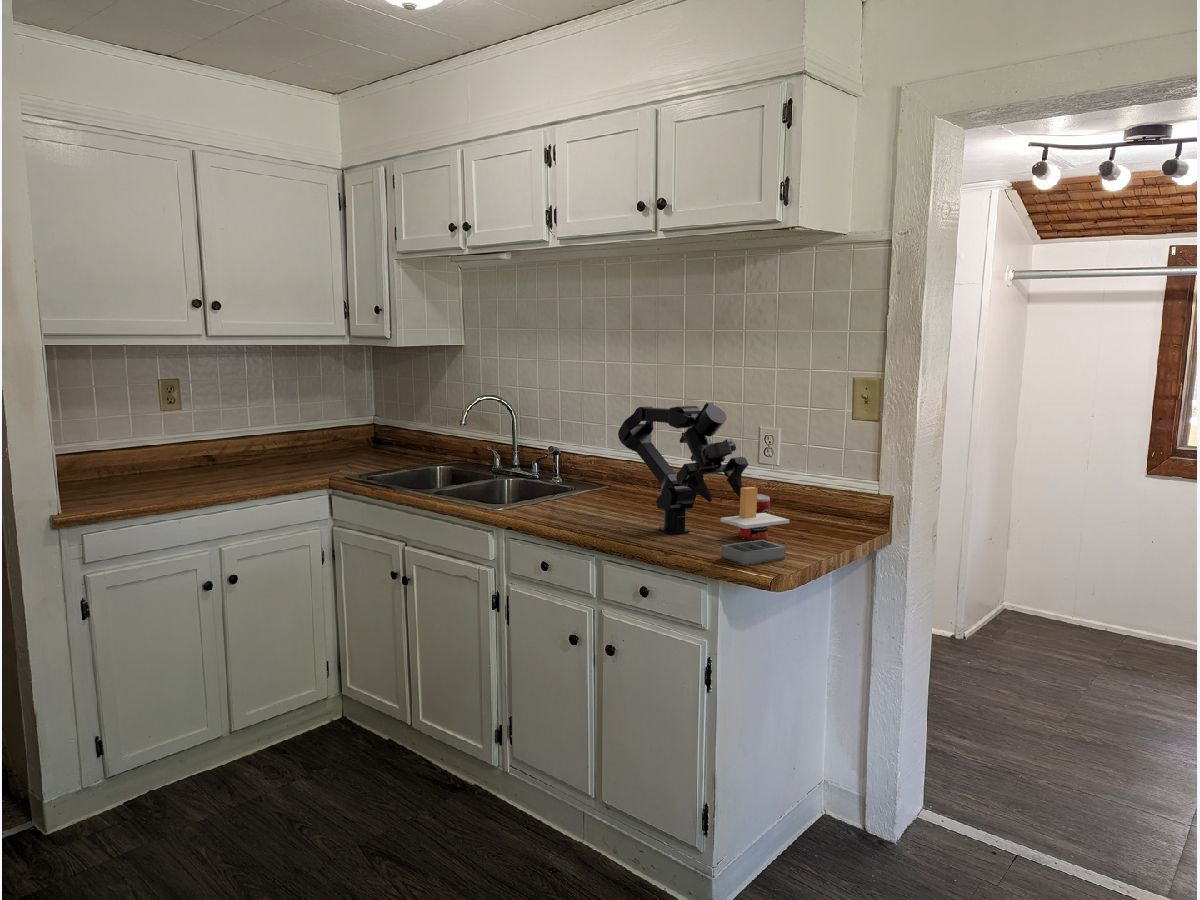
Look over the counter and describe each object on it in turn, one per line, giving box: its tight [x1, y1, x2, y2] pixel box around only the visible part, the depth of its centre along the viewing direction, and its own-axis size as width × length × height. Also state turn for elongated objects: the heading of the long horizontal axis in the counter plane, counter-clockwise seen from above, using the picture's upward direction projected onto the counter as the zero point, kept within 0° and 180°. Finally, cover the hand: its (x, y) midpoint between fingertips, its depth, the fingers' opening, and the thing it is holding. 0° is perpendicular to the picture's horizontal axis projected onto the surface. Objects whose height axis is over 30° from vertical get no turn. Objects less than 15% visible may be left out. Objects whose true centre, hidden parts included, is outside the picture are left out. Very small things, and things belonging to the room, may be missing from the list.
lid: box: [720, 486, 790, 529], centre depth 202 cm, size 9×14×8 cm, turn 122°
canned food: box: [737, 493, 771, 541], centre depth 224 cm, size 8×8×11 cm
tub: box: [720, 540, 786, 566], centre depth 203 cm, size 8×13×3 cm, turn 122°
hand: (726, 498), depth 210 cm, fingers open, 9 cm apart
